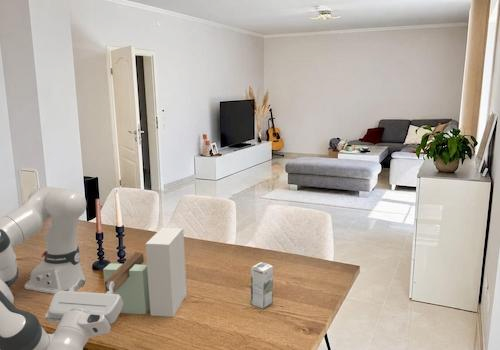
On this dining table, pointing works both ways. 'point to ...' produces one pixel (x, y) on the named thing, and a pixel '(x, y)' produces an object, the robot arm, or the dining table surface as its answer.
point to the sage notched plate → (132, 288)
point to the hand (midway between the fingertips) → (96, 281)
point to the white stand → (166, 271)
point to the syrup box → (262, 285)
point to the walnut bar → (124, 271)
